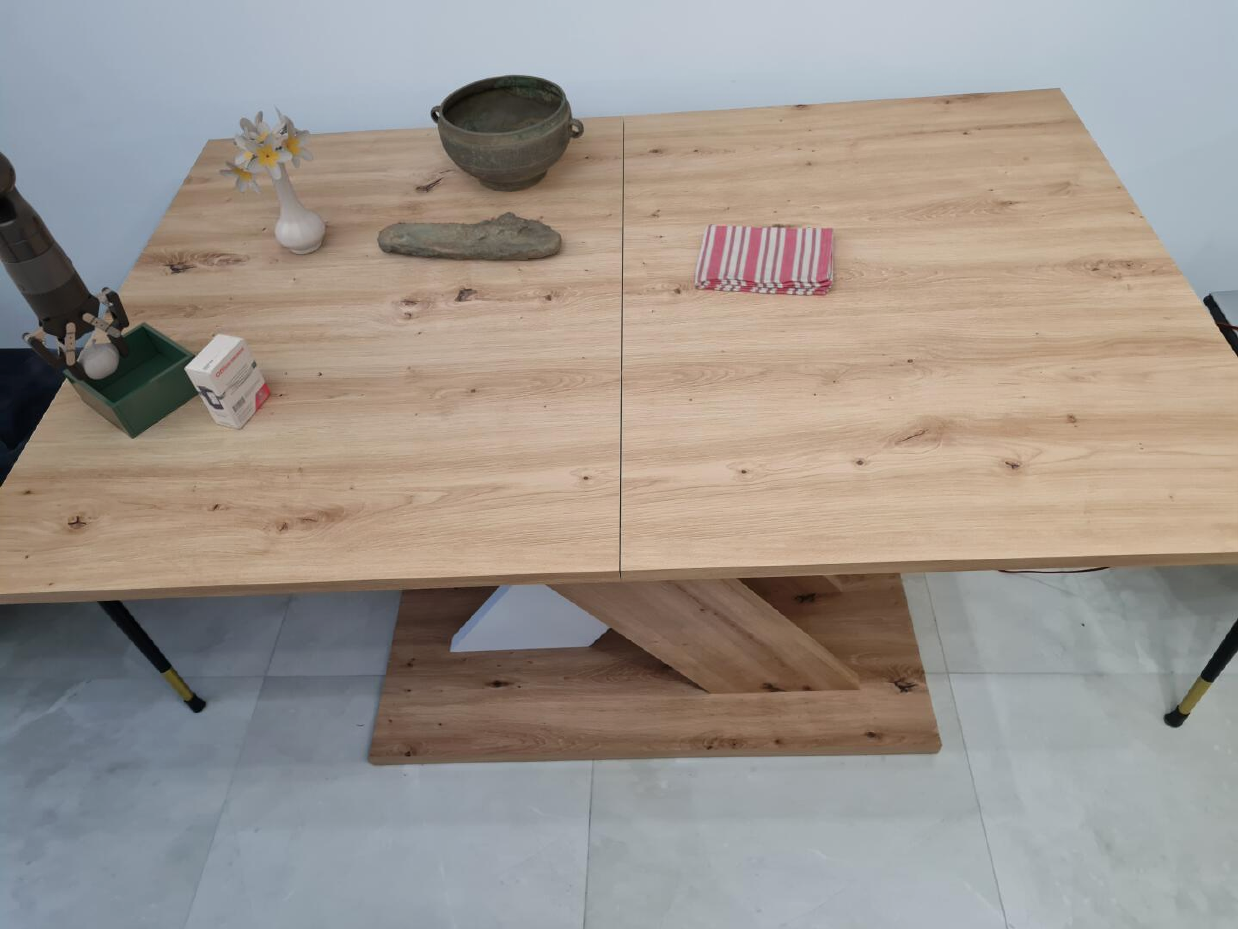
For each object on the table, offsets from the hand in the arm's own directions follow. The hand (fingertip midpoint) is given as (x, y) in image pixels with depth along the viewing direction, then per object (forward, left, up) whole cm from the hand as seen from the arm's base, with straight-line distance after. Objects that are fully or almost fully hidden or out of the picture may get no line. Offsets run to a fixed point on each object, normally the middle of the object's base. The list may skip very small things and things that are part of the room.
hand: (104, 366), depth 136 cm
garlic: (0, 0, -1) cm, 1 cm away
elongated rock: (+62, -15, -9) cm, 64 cm away
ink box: (+11, -15, -9) cm, 21 cm away
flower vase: (+45, +12, -9) cm, 47 cm away
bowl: (+86, -4, -9) cm, 86 cm away
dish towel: (+87, -63, -9) cm, 107 cm away
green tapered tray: (+4, +2, -9) cm, 10 cm away
